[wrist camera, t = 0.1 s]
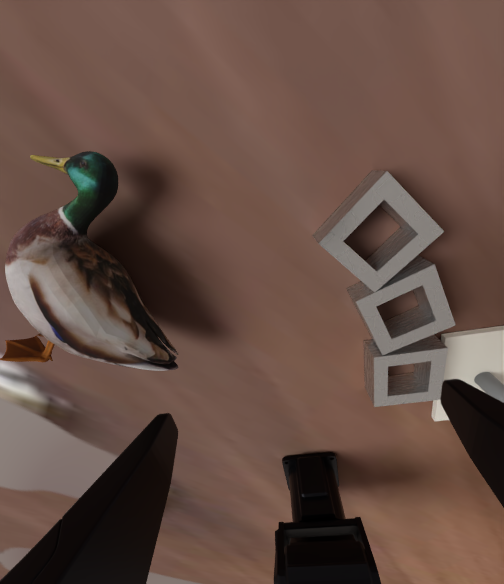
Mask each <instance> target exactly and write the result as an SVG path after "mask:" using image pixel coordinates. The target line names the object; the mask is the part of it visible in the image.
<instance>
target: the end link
mask: <svg viewBox="0 0 504 584" xmlns="http://www.w3.org/2000/svg"><path fill="white" fill-rule="evenodd" d="M447 351H448V348H447V347H446V346H445V345H444V344H443V343H442V342H441V341H440V340H439V339H438V338H437V337H436V336H435V335H434V334H433V335H431V336H428V337H426V338H424V339H421V340H419V341H416V342H414V343H411V344H409V345H407V346H404V347H402V348H399V349H397V350H394V351H392V352H390V353H387V354H385V355H382V354H381V352H380V351H379V349H378V347H377V346H376V344H375V343H374V341H373V340H372V339H371V340H364V371H365V389H366V391H367V393H368V395H369V397H370V399H371V401H372V403H373V405H374V407H379V406H388V405H397V404H406V403H415V402H424V401H433V400H440V397H441V390H442V383H443V380H444V372H445V365H446V358H447ZM412 363H415V364H414V373H406V374H398V375H390V376H388V367H389V366H397V365H404V364H412Z"/></svg>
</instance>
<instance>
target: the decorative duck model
mask: <svg viewBox="0 0 504 584" xmlns="http://www.w3.org/2000/svg"><path fill="white" fill-rule="evenodd" d="M31 159H32V160H34V161H36V162H39V163H41V164H44V165H47V166H49V167H52V168H55V169H57V170H60V171H62V172H64V173H66V174H68V175H69V177H70V178H71V180H72V182H73V183H74V185H75V186H76V188H77V190H78V196H77V197H76V198H75V199H74V200H73V201H71V202H70V203H68V204H67V205H65V206H63V207H61V208H59V209H56V210H54V211H52V212H49V213H47V214H44V215H42V216H40V217H38V218H36V219H34V220H32V221H30V222H29V223H27V224H26V225H25V226H23V227H22V228H21V229H20V230H19V231H18V232H17V233H16V234H15V236H14V237H13V239H12V240H11V242H10V246H9V249H8V252H7V257H6V265H5V273H6V278H7V282H8V286H9V290H10V292H11V295H12V298H13V301H14V303H15V304H16V306H17V307H18V309H19V310H20V311H21V313H22V314H23V315H24V316H25V318H26V319H27V320H28V321H29V323H30V324H31V325H32V326H33V327H34V328H35V329H36V330H37V331H38V332H39V333H40V334H38V335H39V336H42V337H45V338H46V339H47V340H48V343H47V345H46V348H45V346H44V345H43V344H42V342H41V341H40V339H39V338H38V337H37V336H35V337H33V338H28V339H21V340H10V341H9V340H5V341H6V346H7V348H6V352H5V355H4V356H3V357H2V358H1V359H0V360H4V361H15V362H23V361H38V362H46V361H48V360H49V359H50V360H51V361H53V360H52V357H51V354H52V349H53V347H54V345H56V346H58V347H60V348H61V349H63V350H65V351H67V352H69V353H71V354H74V355H77V356H80V357H84V358H88V359H92V360H96V361H101V362H105V363H109V364H114V365H119V366H125V367H132V368H138V369H145V370H155V371H164V370H175V369H177V368H178V365H177V364H176V363H175V362H174V360H175V359H176V358H177V357H176V356H174V355H173V354H172V353H171V352H170V351H169V350H168V349H167V348H166V347H165V346H164V345H163V343H164V344H165V345H166V346H167V347H168V348H169V349H171V350H172V351H173V352H174V353H176V354H177V355H178V353H177V351H176V350H175V348H174V347H173V346H172V344H171V343H170V342H169V340H168V339H167V337H166V336H165V335H164V333H163V332H162V330H161V329H160V327H159V326H158V324H157V323H156V321H155V320H154V318H153V317H152V315H151V314H150V312H149V311H148V310H147V308H146V307H145V305H144V304H143V303H142V301H141V299H140V297H139V295H138V292H137V290H136V288H135V286H134V284H133V282H132V280H131V278H130V276H129V274H128V272H127V271H126V270H125V268H124V267H123V266H122V265H121V264H120V262H119V261H118V260H117V259H115V258H114V257H113V256H112V255H111V254H109V253H108V252H107V251H105V250H104V249H102V248H101V247H99V246H98V245H96V244H95V243H93V242H92V241H91V240H90V239H89V238H88V237H87V229H88V227H89V225H90V223H91V222H92V221H93V220H94V219H95V218H96V217H97V216H98V215H99V214H100V213H101V212H102V211H103V210H104V209H105V208H106V207H107V206H108V205H109V203H110V202H111V201H112V200H113V199H114V197H115V195H116V193H117V190H118V175H117V171H116V169H115V167H114V165H113V164H112V163H111V161H110V160H109V159H107V158H106V157H105V156H103V155H101V154H99V153H97V152H91V151H89V152H82V153H79V154H77V155H75V156H72V157H70V158H54V157H46V156H36V155H31ZM158 337H159V338H160V339H161V341H162V342H163V343H162V342H161V341H160V340H159V338H158Z"/></svg>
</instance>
